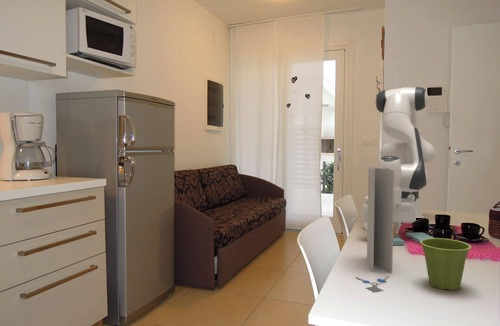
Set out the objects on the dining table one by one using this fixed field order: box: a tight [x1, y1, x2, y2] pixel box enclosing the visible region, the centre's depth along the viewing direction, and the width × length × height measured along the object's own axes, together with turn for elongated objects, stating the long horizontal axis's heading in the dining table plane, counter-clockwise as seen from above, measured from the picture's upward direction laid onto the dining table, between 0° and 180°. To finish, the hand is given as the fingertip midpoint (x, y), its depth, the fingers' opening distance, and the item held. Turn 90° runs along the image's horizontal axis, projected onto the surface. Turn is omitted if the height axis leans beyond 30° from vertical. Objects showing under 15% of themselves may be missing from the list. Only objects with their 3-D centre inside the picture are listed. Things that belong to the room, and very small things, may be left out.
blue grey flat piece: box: [355, 275, 391, 294], centre depth 99 cm, size 14×8×1 cm, turn 151°
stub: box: [393, 225, 405, 246], centre depth 142 cm, size 14×6×6 cm, turn 1°
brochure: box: [366, 166, 394, 274], centre depth 113 cm, size 14×6×30 cm, turn 168°
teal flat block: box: [405, 232, 434, 244], centre depth 143 cm, size 14×7×2 cm, turn 1°
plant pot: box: [420, 237, 472, 291], centre depth 96 cm, size 12×12×11 cm
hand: (388, 233), depth 142 cm, fingers closed on stub, 4 cm apart
